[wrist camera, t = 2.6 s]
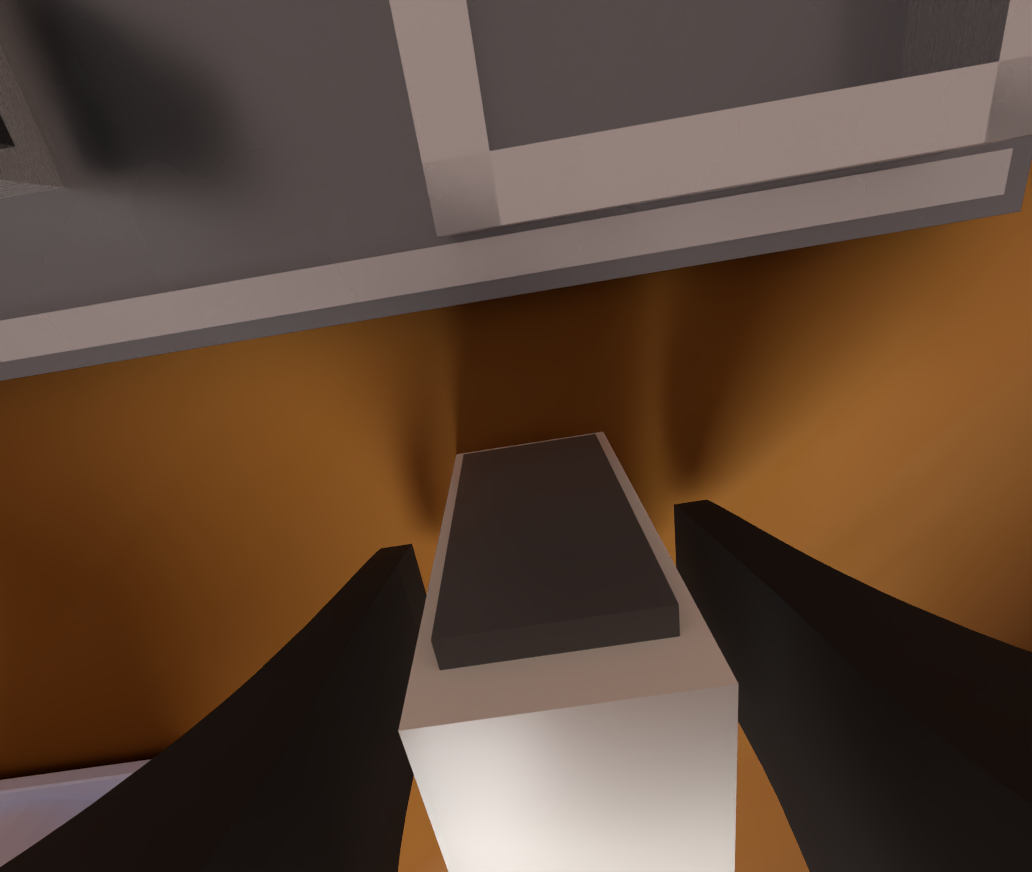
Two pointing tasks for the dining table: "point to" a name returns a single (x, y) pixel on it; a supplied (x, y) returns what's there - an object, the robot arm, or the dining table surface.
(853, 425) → the dining table surface
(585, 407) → the dining table surface
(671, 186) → the grey divided tray
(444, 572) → the block
